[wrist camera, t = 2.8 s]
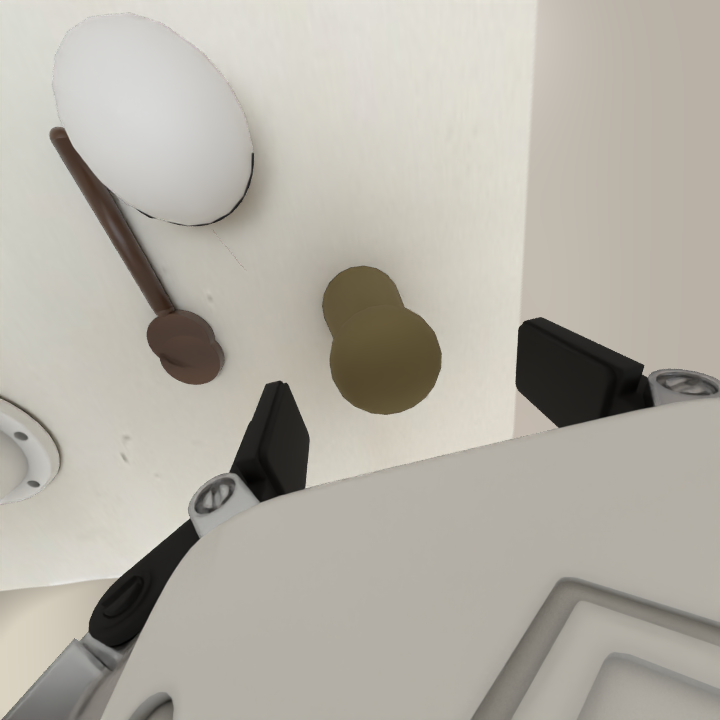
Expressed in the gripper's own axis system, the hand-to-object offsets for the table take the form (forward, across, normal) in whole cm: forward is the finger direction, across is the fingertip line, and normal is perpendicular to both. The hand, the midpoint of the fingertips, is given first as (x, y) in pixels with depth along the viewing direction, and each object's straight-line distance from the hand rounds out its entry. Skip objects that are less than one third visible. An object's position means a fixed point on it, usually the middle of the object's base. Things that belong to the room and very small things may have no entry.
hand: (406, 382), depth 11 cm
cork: (+12, +1, 0) cm, 12 cm away
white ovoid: (+12, +8, -10) cm, 17 cm away
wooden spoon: (+11, +14, -5) cm, 19 cm away
